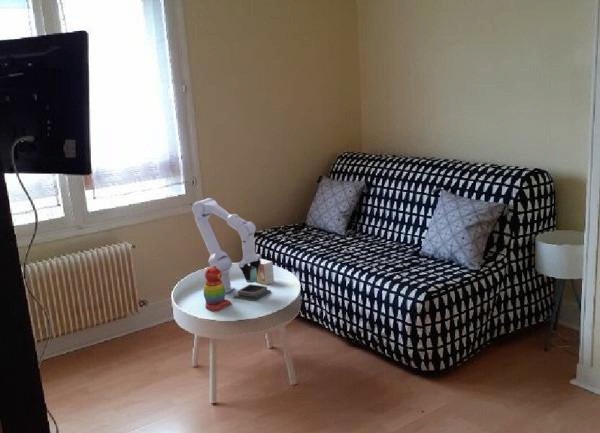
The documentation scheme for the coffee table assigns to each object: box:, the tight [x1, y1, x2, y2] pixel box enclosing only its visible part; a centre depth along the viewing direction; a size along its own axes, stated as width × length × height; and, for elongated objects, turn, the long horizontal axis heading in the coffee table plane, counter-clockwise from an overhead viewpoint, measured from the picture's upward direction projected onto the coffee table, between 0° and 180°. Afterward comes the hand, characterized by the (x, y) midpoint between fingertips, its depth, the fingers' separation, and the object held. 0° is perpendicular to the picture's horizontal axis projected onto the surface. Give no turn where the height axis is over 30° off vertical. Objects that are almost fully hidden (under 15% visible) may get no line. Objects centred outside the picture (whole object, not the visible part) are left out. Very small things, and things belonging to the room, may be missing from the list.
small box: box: [255, 258, 275, 286], centre depth 292 cm, size 8×6×10 cm
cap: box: [245, 266, 257, 284], centre depth 274 cm, size 5×5×6 cm
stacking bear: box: [203, 266, 232, 312], centre depth 264 cm, size 11×10×18 cm
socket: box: [234, 283, 272, 302], centre depth 276 cm, size 12×12×3 cm
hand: (251, 277), depth 275 cm, fingers closed on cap, 5 cm apart
